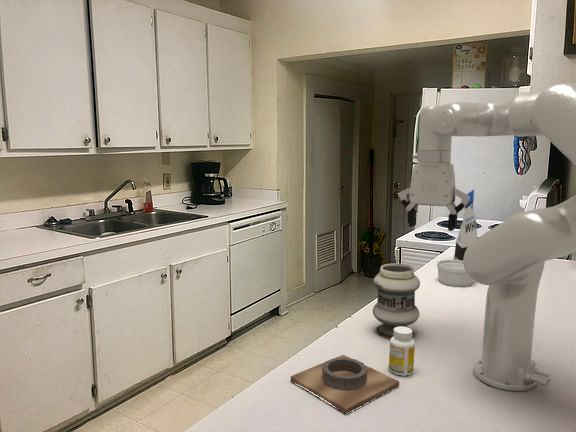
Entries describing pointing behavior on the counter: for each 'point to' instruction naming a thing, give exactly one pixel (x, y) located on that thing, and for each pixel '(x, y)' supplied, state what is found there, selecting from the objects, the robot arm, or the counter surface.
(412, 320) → the apothecary jar
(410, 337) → the supplement bottle
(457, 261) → the ramekin
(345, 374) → the stand board
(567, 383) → the counter surface
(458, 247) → the protein powder
